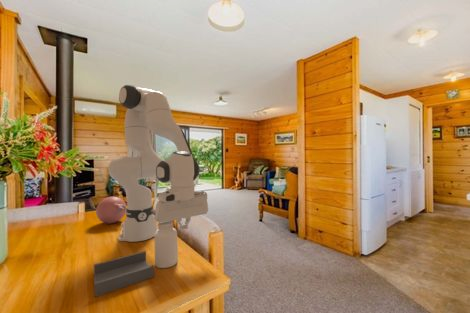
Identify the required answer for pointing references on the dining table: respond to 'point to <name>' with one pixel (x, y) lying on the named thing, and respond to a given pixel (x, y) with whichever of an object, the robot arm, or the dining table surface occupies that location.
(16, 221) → the dining table surface
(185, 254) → the dining table surface
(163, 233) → the pill bottle
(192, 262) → the dining table surface
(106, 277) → the u rest
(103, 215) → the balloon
